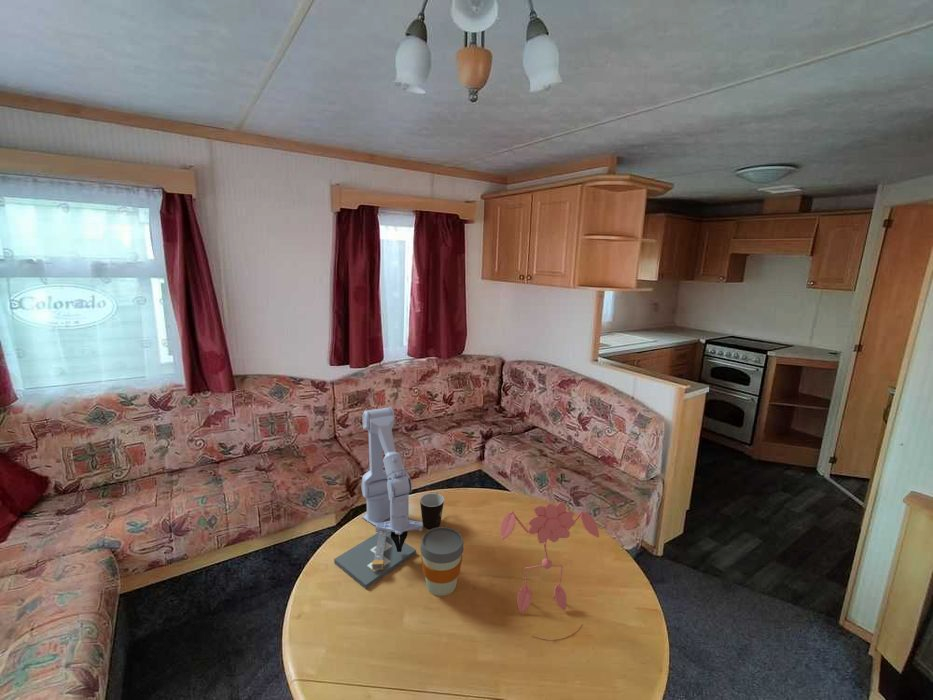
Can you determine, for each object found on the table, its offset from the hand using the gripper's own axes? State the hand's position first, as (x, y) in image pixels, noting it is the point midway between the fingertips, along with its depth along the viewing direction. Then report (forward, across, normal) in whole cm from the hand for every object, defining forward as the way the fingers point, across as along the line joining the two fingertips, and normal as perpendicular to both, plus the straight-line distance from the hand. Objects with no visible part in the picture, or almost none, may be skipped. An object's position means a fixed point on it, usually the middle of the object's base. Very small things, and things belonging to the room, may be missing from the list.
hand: (399, 549), depth 133 cm
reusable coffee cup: (+3, +13, -12) cm, 18 cm away
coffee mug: (+3, +12, +18) cm, 22 cm away
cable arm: (+1, -6, 0) cm, 6 cm away
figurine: (+3, +41, -25) cm, 48 cm away
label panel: (+3, -8, 0) cm, 8 cm away
